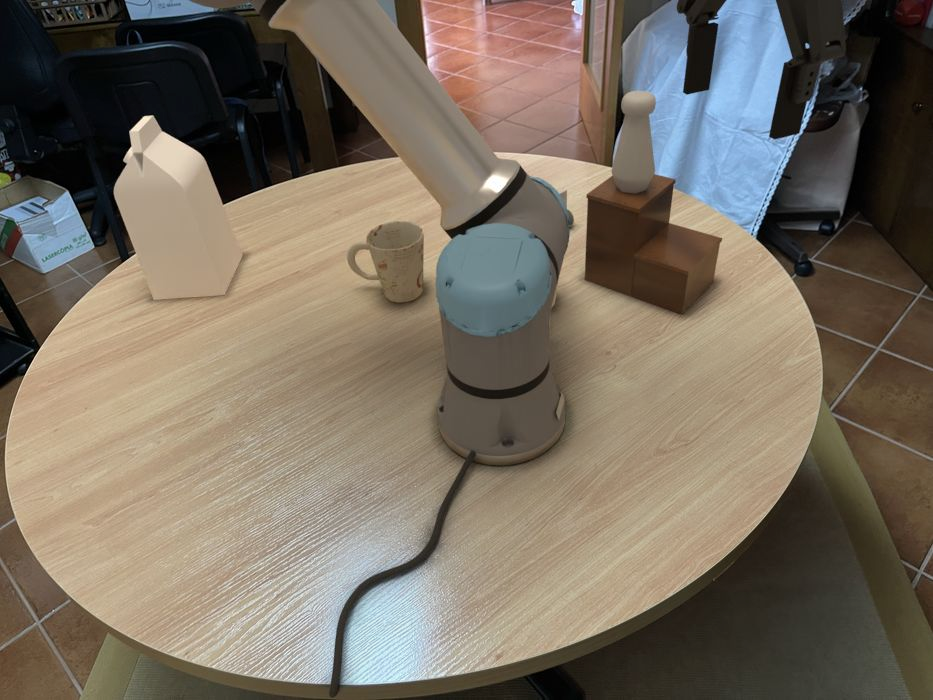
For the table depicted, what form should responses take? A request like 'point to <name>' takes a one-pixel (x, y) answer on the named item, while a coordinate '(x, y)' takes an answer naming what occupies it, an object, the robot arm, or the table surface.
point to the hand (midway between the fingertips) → (736, 112)
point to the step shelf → (646, 246)
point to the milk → (175, 216)
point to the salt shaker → (635, 144)
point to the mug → (394, 259)
